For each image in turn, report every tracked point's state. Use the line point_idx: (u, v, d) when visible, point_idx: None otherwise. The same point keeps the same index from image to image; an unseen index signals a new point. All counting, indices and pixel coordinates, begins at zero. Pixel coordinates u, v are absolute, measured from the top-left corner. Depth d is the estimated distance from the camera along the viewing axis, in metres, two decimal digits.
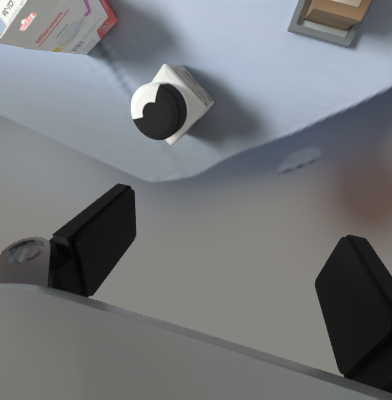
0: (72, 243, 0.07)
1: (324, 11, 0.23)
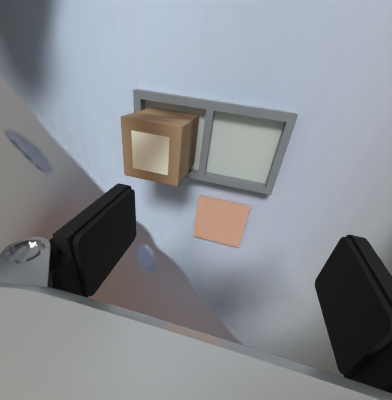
0: (72, 243, 0.07)
1: None
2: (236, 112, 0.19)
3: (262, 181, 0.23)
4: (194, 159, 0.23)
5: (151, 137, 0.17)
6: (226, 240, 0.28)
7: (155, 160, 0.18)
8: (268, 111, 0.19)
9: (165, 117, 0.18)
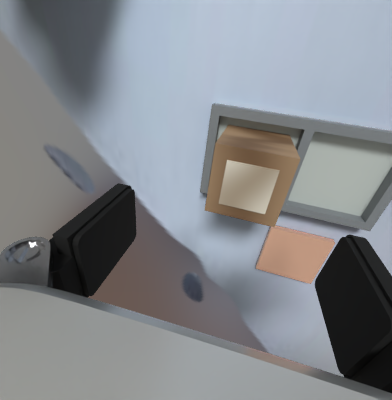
0: (72, 243, 0.07)
1: None
2: (345, 134, 0.16)
3: (357, 213, 0.19)
4: None
5: (252, 169, 0.13)
6: (296, 275, 0.24)
7: (251, 195, 0.14)
8: (391, 134, 0.15)
9: (261, 141, 0.15)
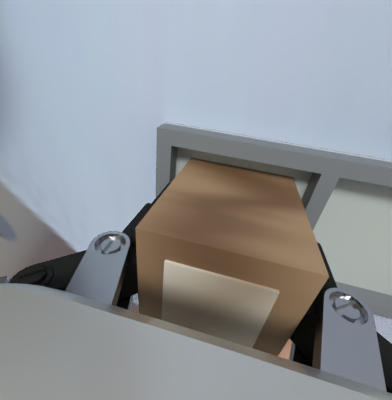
0: None
1: None
2: None
3: None
4: None
5: (219, 281, 0.06)
6: None
7: (222, 321, 0.07)
8: None
9: (242, 205, 0.08)
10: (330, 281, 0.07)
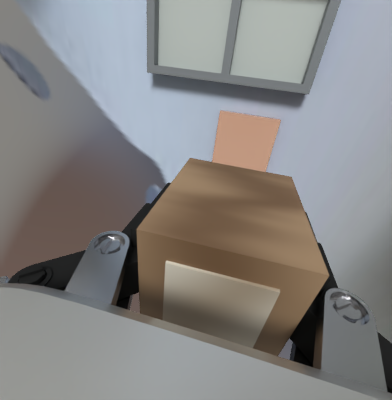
0: None
1: None
2: None
3: (297, 80, 0.19)
4: None
5: (220, 282, 0.06)
6: (249, 168, 0.24)
7: (223, 320, 0.07)
8: None
9: (242, 205, 0.08)
10: (331, 281, 0.07)
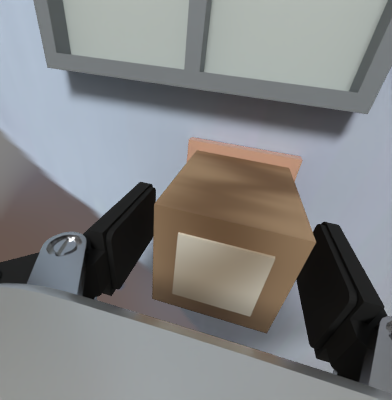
0: (106, 238, 0.07)
1: None
2: None
3: (342, 85, 0.09)
4: None
5: (224, 251, 0.07)
6: None
7: (226, 288, 0.08)
8: None
9: (243, 189, 0.09)
10: None
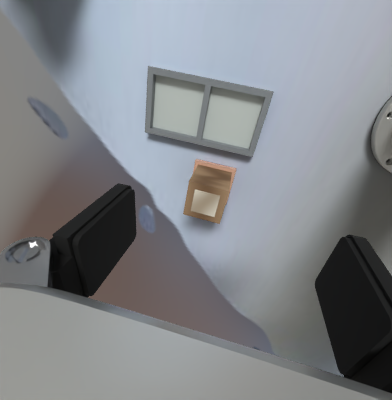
0: (72, 243, 0.07)
1: (188, 189, 0.27)
2: (228, 88, 0.25)
3: (246, 146, 0.29)
4: None
5: (207, 194, 0.27)
6: None
7: (207, 207, 0.28)
8: (252, 88, 0.25)
9: (213, 178, 0.28)
10: None
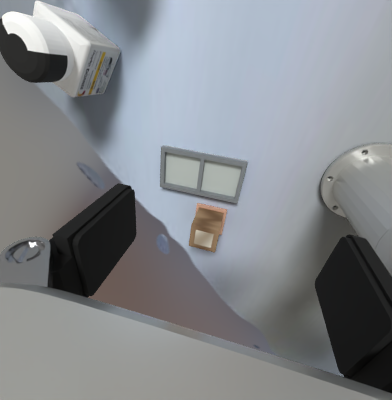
0: (72, 243, 0.07)
1: (191, 229, 0.39)
2: (216, 160, 0.37)
3: (232, 195, 0.40)
4: (219, 231, 0.45)
5: (204, 233, 0.38)
6: None
7: (205, 241, 0.39)
8: (232, 161, 0.36)
9: (209, 220, 0.40)
10: None
